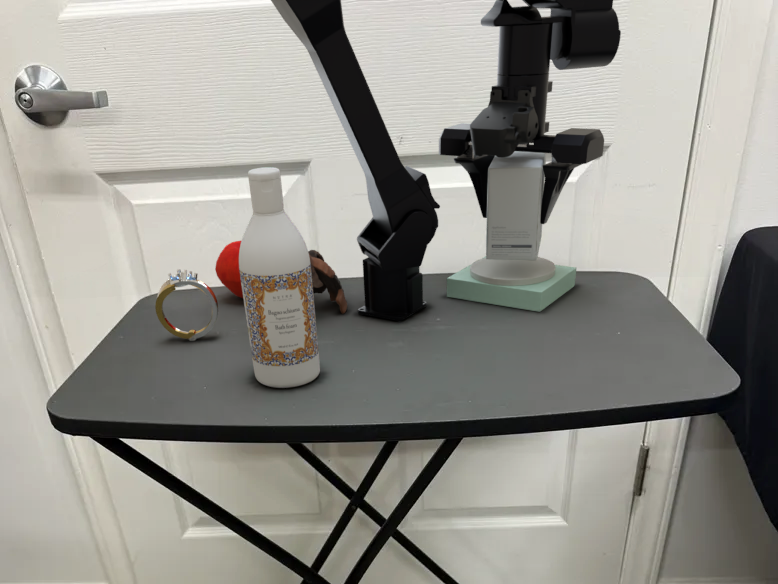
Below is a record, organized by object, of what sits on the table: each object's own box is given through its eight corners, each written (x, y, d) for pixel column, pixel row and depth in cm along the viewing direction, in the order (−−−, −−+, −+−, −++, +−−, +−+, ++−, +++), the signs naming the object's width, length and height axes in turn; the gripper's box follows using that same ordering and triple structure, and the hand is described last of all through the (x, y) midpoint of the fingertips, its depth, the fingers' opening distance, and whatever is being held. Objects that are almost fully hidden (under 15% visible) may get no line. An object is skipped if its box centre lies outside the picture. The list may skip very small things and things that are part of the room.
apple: (213, 307, 101) (203, 248, 97) (232, 287, 107) (223, 232, 103) (272, 307, 100) (264, 248, 95) (287, 288, 106) (281, 231, 102)
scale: (445, 296, 100) (446, 271, 98) (485, 273, 107) (485, 249, 105) (540, 312, 94) (542, 285, 92) (574, 286, 101) (577, 261, 99)
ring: (224, 333, 93) (212, 265, 88) (220, 342, 90) (208, 273, 86) (166, 336, 93) (152, 269, 88) (161, 346, 90) (146, 277, 86)
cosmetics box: (491, 237, 102) (496, 149, 96) (541, 238, 101) (549, 148, 94) (482, 260, 94) (486, 165, 88) (536, 261, 92) (544, 165, 86)
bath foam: (258, 393, 78) (228, 180, 67) (252, 367, 84) (222, 167, 72) (325, 384, 79) (307, 173, 68) (314, 359, 85) (295, 160, 73)
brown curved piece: (350, 325, 94) (312, 272, 89) (287, 355, 98) (248, 306, 93) (357, 271, 102) (322, 219, 97) (299, 301, 106) (262, 252, 101)
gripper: (414, 80, 85) (415, 227, 94) (574, 82, 76) (559, 245, 86) (462, 70, 93) (459, 208, 102) (614, 71, 84) (596, 222, 93)
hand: (514, 220), depth 95 cm, fingers closed on cosmetics box, 7 cm apart
